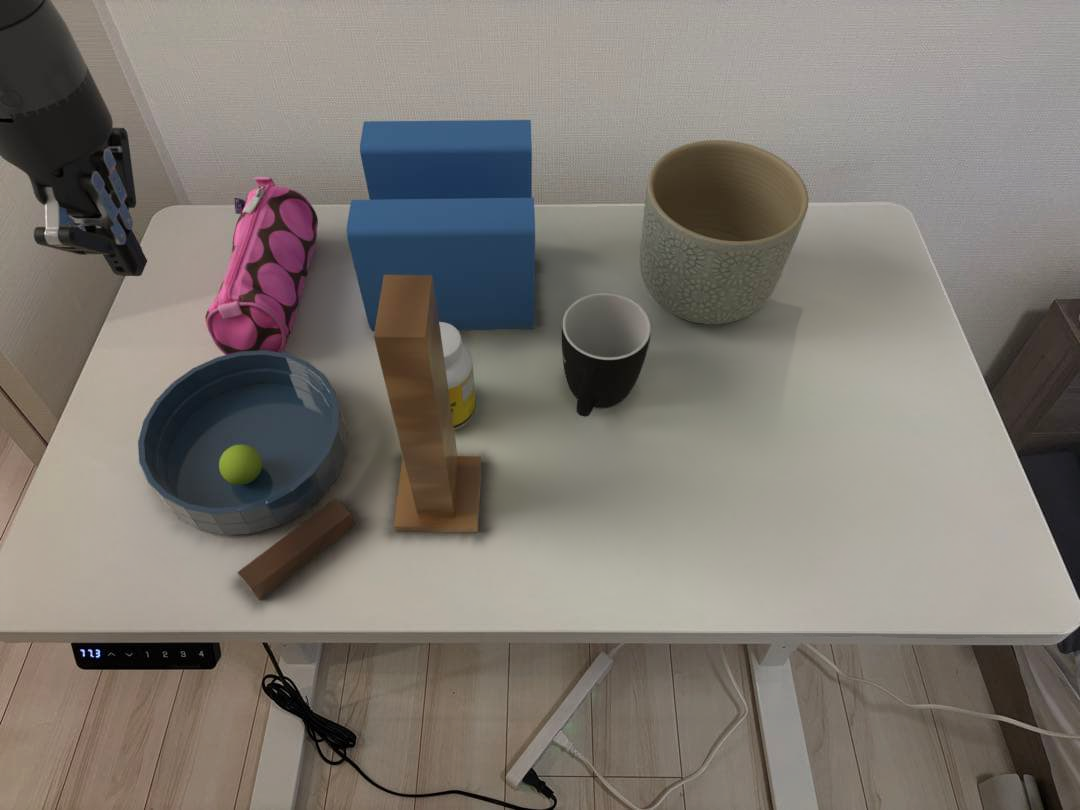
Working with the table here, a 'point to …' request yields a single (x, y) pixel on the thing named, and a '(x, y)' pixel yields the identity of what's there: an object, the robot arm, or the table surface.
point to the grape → (240, 464)
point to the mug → (603, 349)
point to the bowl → (244, 441)
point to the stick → (296, 548)
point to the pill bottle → (458, 375)
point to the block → (449, 218)
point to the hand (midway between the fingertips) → (132, 269)
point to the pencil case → (264, 270)
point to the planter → (718, 229)
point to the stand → (423, 412)
